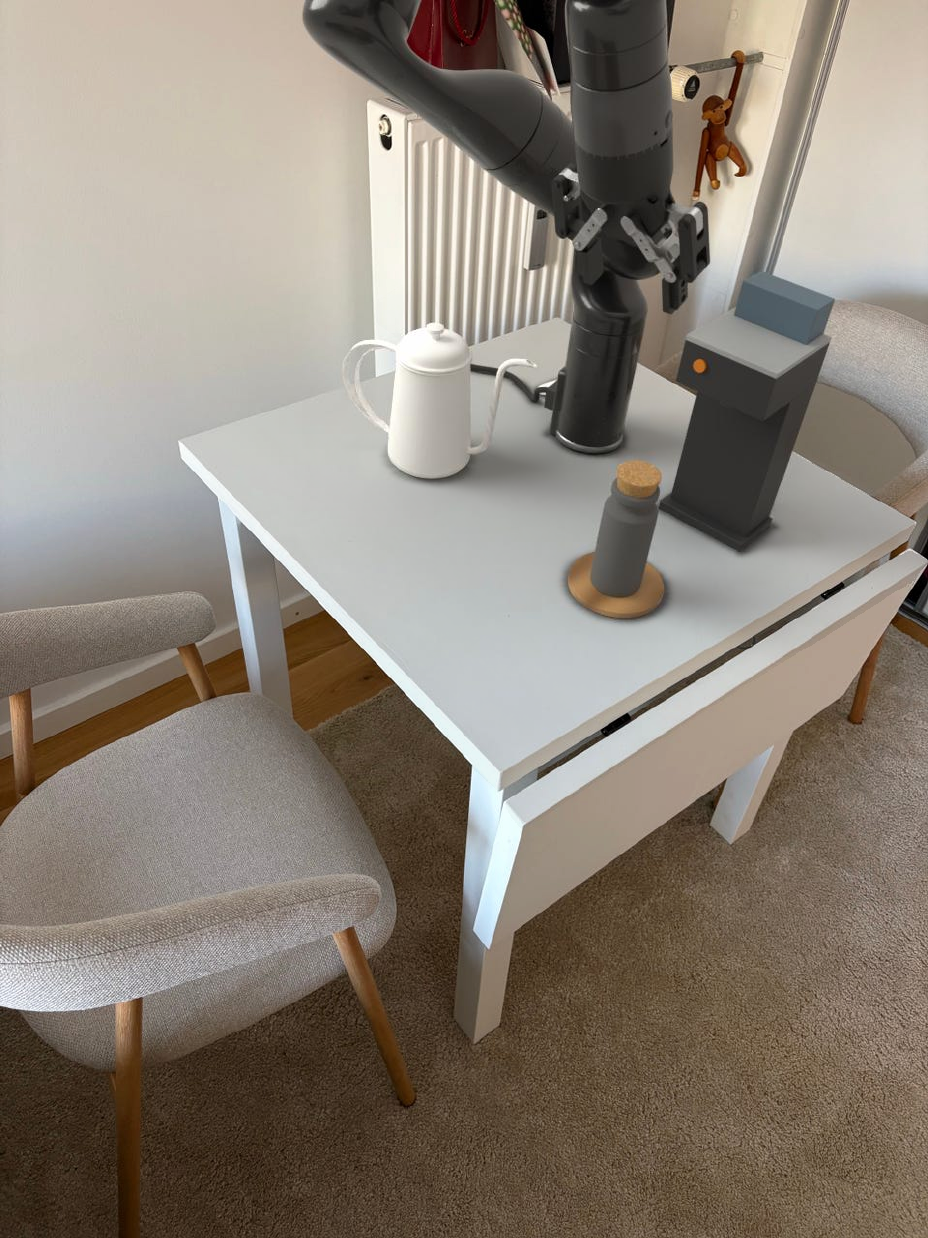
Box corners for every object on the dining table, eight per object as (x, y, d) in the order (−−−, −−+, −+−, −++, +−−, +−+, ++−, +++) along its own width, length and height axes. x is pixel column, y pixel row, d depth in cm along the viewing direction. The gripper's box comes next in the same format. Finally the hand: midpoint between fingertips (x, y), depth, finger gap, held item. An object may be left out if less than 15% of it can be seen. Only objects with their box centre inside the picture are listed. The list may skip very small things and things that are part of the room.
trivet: (550, 592, 112) (551, 587, 112) (594, 543, 119) (595, 538, 119) (638, 632, 108) (639, 627, 108) (677, 579, 115) (679, 574, 115)
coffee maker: (719, 570, 117) (791, 340, 97) (636, 524, 122) (688, 298, 102) (770, 526, 124) (848, 303, 104) (690, 484, 130) (749, 265, 109)
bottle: (638, 602, 111) (666, 493, 100) (586, 592, 111) (608, 483, 101) (642, 569, 115) (668, 461, 105) (592, 560, 115) (614, 452, 105)
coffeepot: (510, 505, 124) (526, 370, 111) (328, 457, 129) (323, 323, 116) (534, 460, 131) (552, 329, 118) (361, 416, 136) (361, 286, 123)
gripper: (519, 128, 77) (545, 294, 91) (674, 173, 71) (677, 345, 84) (575, 77, 80) (592, 246, 93) (731, 115, 73) (725, 291, 86)
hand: (632, 292), depth 89 cm, fingers open, 8 cm apart
